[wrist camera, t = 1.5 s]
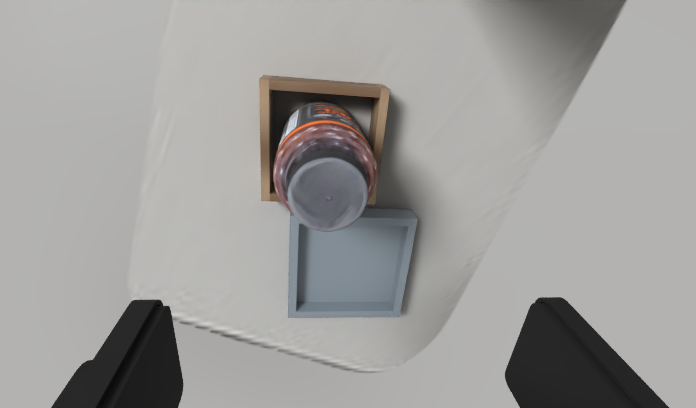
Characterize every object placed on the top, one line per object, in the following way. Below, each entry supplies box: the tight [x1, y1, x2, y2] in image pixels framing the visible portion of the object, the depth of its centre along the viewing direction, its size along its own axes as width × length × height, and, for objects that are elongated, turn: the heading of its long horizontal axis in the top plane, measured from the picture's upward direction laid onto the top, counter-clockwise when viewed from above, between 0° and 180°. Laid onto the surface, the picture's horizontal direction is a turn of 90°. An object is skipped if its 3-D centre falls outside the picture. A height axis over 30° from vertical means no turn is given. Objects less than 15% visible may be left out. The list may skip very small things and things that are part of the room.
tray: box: [288, 208, 418, 318], centre depth 32 cm, size 10×10×2 cm
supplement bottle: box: [273, 101, 377, 232], centre depth 22 cm, size 6×6×11 cm
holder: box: [259, 75, 390, 205], centre depth 26 cm, size 9×9×2 cm
